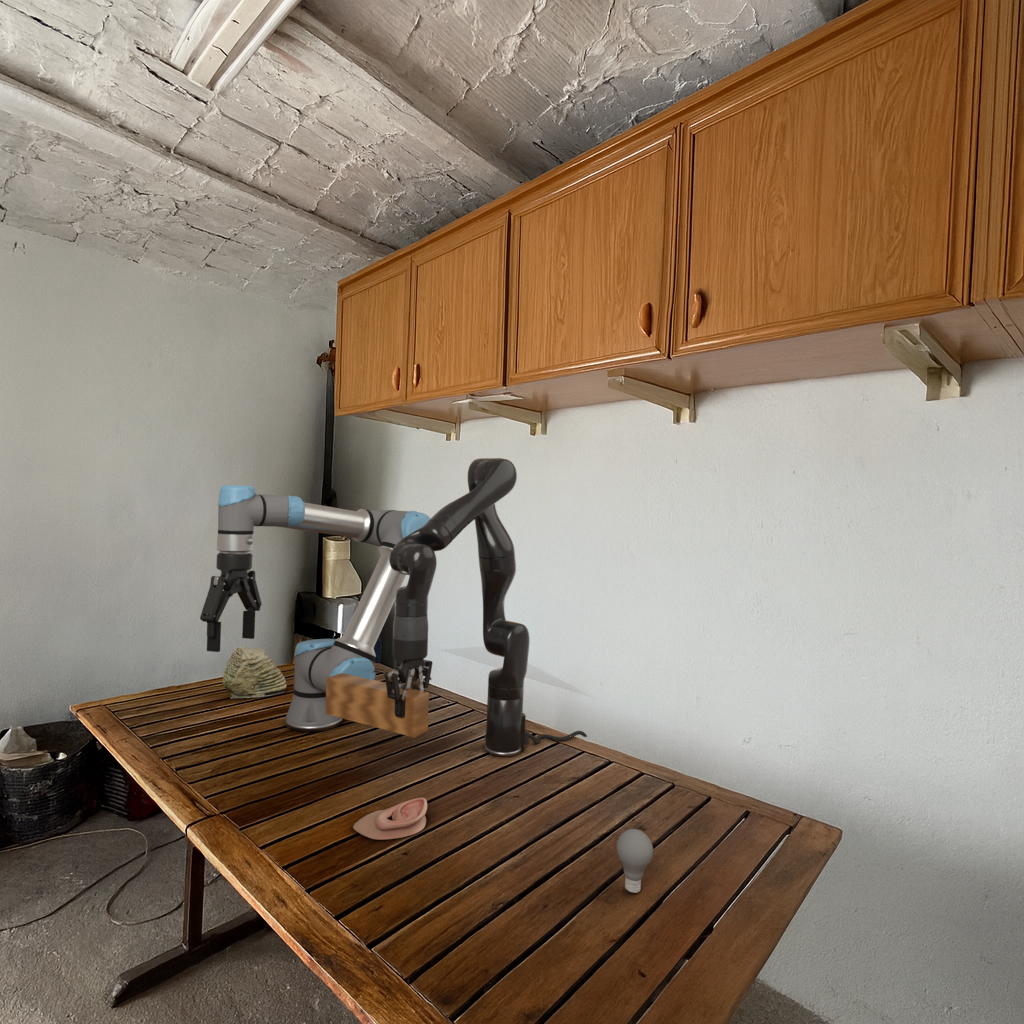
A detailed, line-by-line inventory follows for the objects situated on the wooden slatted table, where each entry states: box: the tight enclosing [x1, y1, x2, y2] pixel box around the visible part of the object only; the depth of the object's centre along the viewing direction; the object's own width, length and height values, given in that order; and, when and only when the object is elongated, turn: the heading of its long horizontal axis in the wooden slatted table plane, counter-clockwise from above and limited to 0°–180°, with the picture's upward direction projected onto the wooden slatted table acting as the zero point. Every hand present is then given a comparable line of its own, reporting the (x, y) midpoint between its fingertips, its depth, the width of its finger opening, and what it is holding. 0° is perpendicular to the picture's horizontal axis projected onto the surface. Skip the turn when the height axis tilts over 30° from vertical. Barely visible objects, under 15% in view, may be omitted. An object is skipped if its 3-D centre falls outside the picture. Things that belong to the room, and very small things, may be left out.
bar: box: [326, 673, 430, 738], centre depth 141 cm, size 25×5×8 cm, turn 61°
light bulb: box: [615, 828, 654, 894], centre depth 106 cm, size 6×6×10 cm
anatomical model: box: [352, 797, 428, 841], centre depth 123 cm, size 13×4×12 cm
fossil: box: [222, 646, 288, 699], centre depth 198 cm, size 9×18×15 cm, turn 132°
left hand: (231, 644), depth 146 cm, fingers open, 13 cm apart
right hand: (408, 712), depth 137 cm, fingers closed on bar, 5 cm apart
